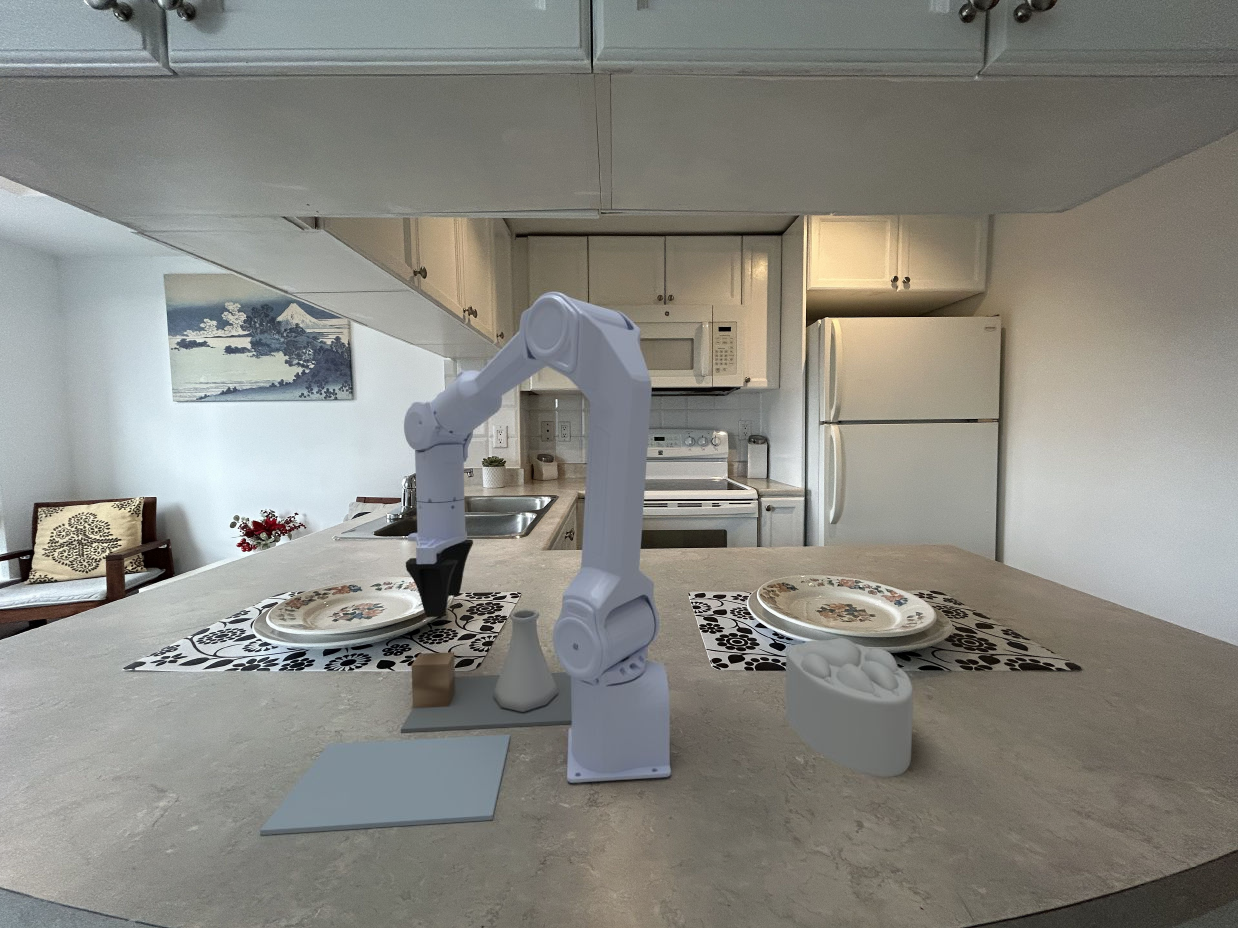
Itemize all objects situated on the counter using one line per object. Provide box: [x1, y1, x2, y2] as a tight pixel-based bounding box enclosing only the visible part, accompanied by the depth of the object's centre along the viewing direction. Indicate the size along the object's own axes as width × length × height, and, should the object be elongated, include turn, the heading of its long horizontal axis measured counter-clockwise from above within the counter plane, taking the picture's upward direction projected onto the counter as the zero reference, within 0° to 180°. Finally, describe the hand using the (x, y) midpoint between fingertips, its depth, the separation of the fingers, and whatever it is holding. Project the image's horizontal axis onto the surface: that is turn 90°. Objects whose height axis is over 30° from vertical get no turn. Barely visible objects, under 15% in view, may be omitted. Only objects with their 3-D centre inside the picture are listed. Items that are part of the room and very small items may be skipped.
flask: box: [493, 608, 558, 712], centre depth 60 cm, size 7×7×10 cm
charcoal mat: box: [400, 651, 572, 734], centre depth 59 cm, size 18×11×5 cm, turn 95°
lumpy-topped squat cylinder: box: [784, 637, 914, 778], centre depth 53 cm, size 10×13×9 cm
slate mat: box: [259, 734, 511, 836], centre depth 46 cm, size 18×11×1 cm, turn 95°
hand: (443, 604), depth 65 cm, fingers open, 7 cm apart
